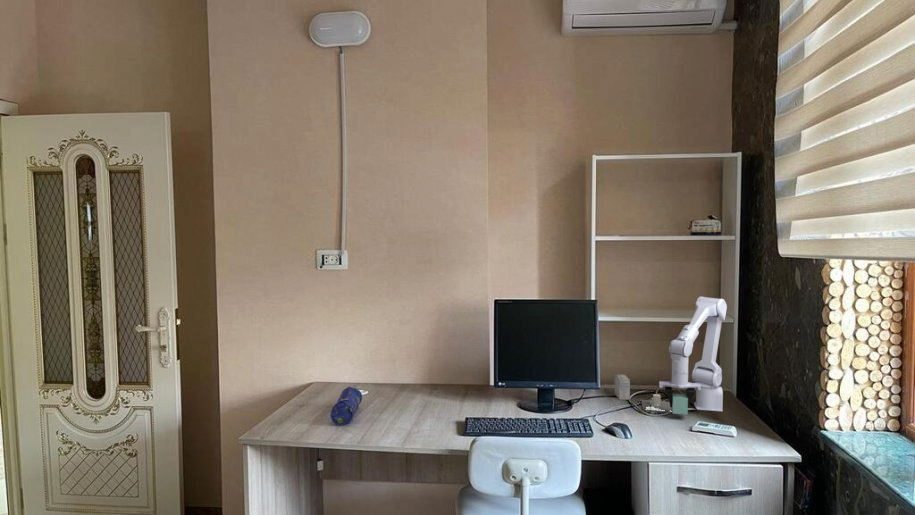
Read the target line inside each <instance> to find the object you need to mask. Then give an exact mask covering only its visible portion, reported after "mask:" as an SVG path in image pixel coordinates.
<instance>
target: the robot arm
mask: <svg viewBox="0 0 915 515" xmlns="http://www.w3.org/2000/svg"><path fill="white" fill-rule="evenodd" d="M727 309H728V304H727V303H726V301H725V299H724V298H715V297H708V296H707V297H706V296H702V295H701V296H698V298H697V299H696V302H695V312H694V314H693V316H692V318H691V319H690V322H689V324H686V325H684V326H683V328H682V330H681V331H680V333H679V334H678V336H677V337H676V339H673V340H671V342H670V344H669V347H668V352H669V353H670V359H671V380H667V381H661V380H660V381H659V382H658V386H659V389H660V388H661V389H662V388H664V389H665V390H664V391H665V392H666V394H667V398H668V400H669V401H668V402H669V403H670V407H672V394H674V393H673V389H683V390H684V389H685V390H686V396H687V398H688V409H690V404H691V403H692V402H691V401H692V399H693V398H694V396H695V394H696V396H695V397H696V398H695V400H696V401H695V402H693V404H694V407H695V409H696V410H697V411H712V412H724V411H723V402H724V401H723V399H724V396H723V395H724V394H723V393H724V391H723V387H722V386H720V385H722V384H721V383H722V382H723V381H722V380H723V375H722V372H723V370H722V368H721V366H720V365H718V364H719V363H717V362H716V360H717V354H718V348H719V343H720V342H719V341H720V335H721V329H722V324H723V321H725V320H726V316H727V315H726V314H727ZM705 320H706V321H707V322H706V331H705V337H704V343H703V349H702V355H701V359H700V360H699V361H697V362H695V364H694V368H693V370H692V372H691V378H692V381H693V382H689V357H690V355H692V352H693V347H694V342H695V340H696V339H697V337H698V336H699V333H700V331H699V328H700V327H701V326H702V324H704V322H705Z"/></svg>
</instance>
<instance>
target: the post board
mask: <svg viewBox="0 0 915 515" xmlns="http://www.w3.org/2000/svg"><path fill="white" fill-rule="evenodd" d="M661 396H662V395H661V394H659V393H658V394H655V393H654V394H652V401H653V405H654V406H657V404H658V405H659V409H661V410H665V411H670V410H671V407H670V403H669V401H662V400H661ZM640 403H641V407H642V411H643V410H645V409H646V407H648V406H650V399H649V400H648V399H641V401H640ZM671 411H672V410H671Z"/></svg>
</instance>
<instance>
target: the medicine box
mask: <svg viewBox="0 0 915 515" xmlns="http://www.w3.org/2000/svg"><path fill="white" fill-rule="evenodd" d="M630 381H631V380H630V378H628V376H626V374H615V375H614V395H615V396H616V397H617V398H618V400H622V401H630V400H631V399H630V398H631V397H630V396H631V395H630V393H631V390H630V389H631V388H630V386H631V383H630Z"/></svg>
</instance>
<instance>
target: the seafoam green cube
mask: <svg viewBox="0 0 915 515" xmlns="http://www.w3.org/2000/svg"><path fill="white" fill-rule="evenodd" d="M671 410H672V415H674V414H675V415H677V414H678V415H688V413H689V411H688V398H687V393H686V394H685V393H673V394H672V407H671Z"/></svg>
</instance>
